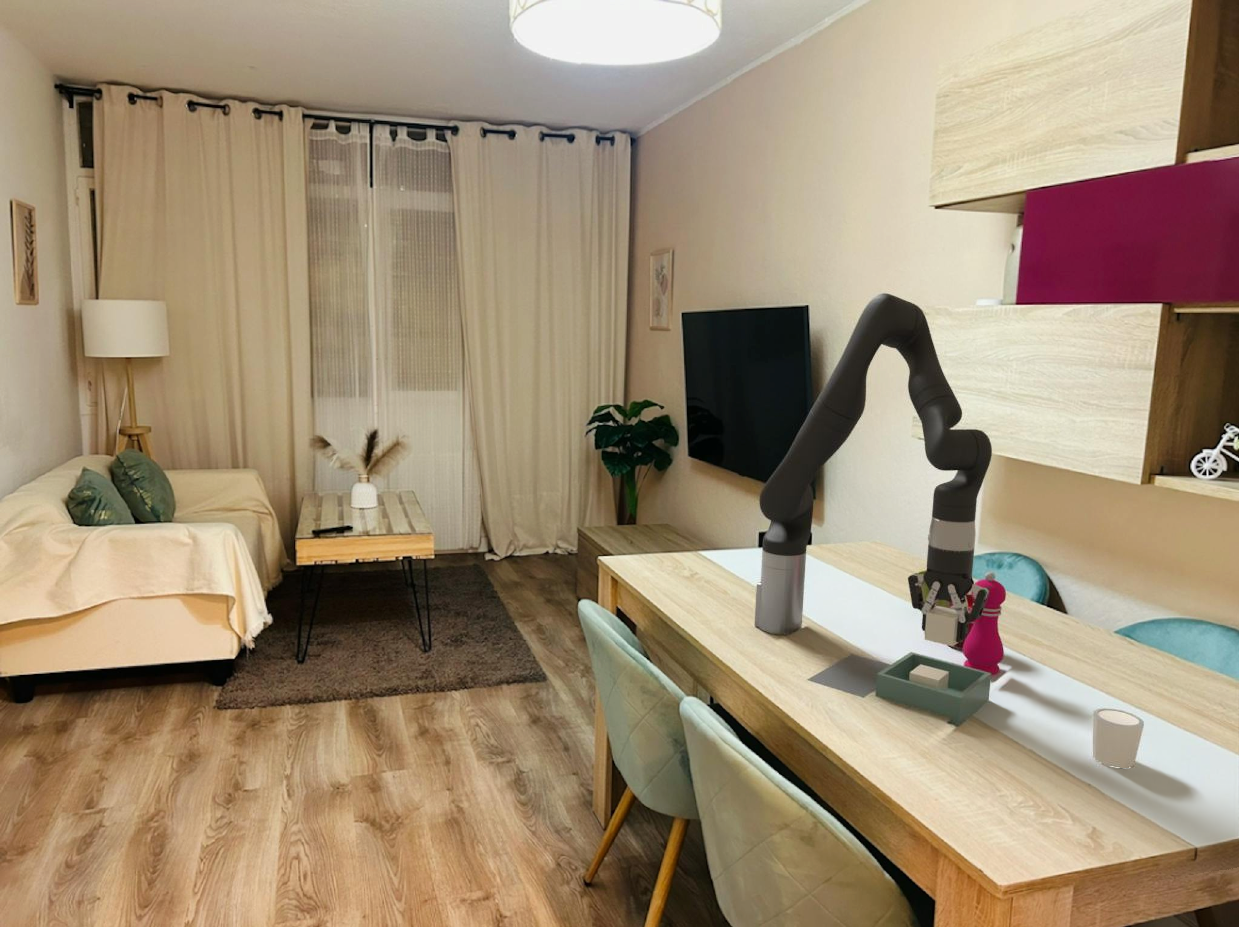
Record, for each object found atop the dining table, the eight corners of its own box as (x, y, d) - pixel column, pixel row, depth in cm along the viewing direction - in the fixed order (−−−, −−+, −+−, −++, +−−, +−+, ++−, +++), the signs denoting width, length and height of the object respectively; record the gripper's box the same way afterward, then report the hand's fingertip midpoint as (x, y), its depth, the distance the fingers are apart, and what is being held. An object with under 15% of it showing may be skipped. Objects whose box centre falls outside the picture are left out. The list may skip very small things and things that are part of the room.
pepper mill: (983, 683, 164) (993, 579, 161) (952, 669, 170) (961, 569, 167) (1009, 677, 167) (1020, 575, 164) (978, 663, 174) (988, 565, 170)
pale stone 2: (907, 699, 153) (909, 672, 153) (918, 691, 157) (920, 664, 156) (936, 708, 150) (938, 680, 149) (946, 699, 154) (948, 671, 153)
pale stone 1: (924, 639, 156) (926, 612, 155) (935, 632, 160) (937, 605, 159) (952, 646, 153) (955, 618, 152) (963, 639, 156) (965, 611, 156)
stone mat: (806, 684, 161) (807, 679, 161) (851, 658, 175) (851, 653, 175) (863, 702, 154) (863, 697, 154) (905, 673, 168) (905, 668, 167)
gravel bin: (875, 700, 155) (877, 673, 154) (908, 677, 166) (910, 651, 165) (958, 726, 146) (961, 698, 145) (988, 699, 157) (991, 673, 156)
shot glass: (1078, 749, 139) (1083, 707, 138) (1119, 749, 139) (1125, 707, 138) (1105, 771, 132) (1111, 727, 131) (1149, 770, 133) (1154, 726, 132)
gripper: (1001, 547, 152) (992, 642, 154) (919, 533, 161) (912, 623, 163) (986, 555, 146) (977, 653, 149) (902, 540, 155) (896, 633, 158)
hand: (943, 637), depth 156 cm, fingers closed on pale stone 1, 5 cm apart
